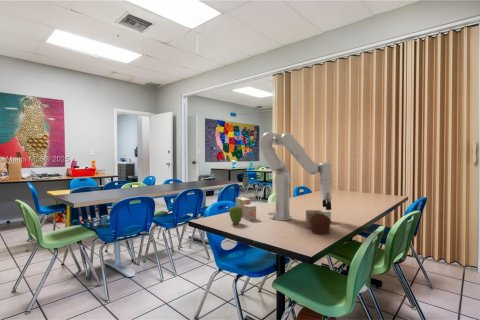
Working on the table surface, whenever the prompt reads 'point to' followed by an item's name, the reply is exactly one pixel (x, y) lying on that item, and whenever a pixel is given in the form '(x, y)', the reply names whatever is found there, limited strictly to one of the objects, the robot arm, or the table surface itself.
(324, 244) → the table surface
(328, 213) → the sage block
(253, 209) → the stack of blocks
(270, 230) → the table surface
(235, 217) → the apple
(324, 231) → the muffin
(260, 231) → the table surface
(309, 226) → the riser box
